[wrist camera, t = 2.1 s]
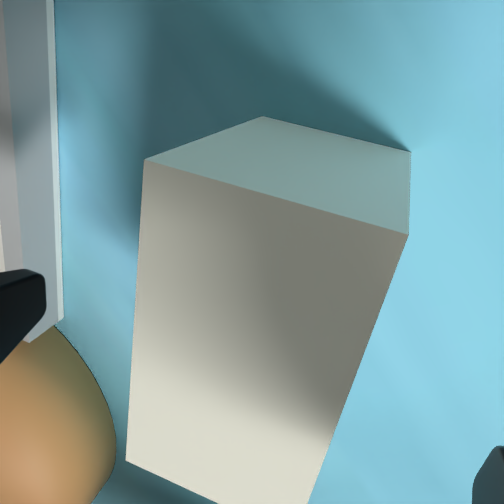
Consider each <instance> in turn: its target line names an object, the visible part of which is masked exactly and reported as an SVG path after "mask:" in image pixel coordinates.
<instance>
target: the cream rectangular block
mask: <svg viewBox="0 0 504 504" xmlns="http://www.w3.org/2000/svg"><path fill="white" fill-rule="evenodd" d="M410 173H411V152H408V151H404V150H400V149H396V148H392V147H387V146H383V145H379V144H375V143H371V142H367V141H363V140H359V139H355V138H350V137H346V136H342V135H338V134H334V133H330V132H326V131H322V130H318V129H313V128H309V127H305V126H301V125H297V124H293V123H289V122H285V121H281V120H276V119H272V118H268V117H264V116H261V117H258V118H256V119H253V120H250V121H247V122H245V123H242V124H239V125H236V126H234V127H231V128H228V129H225V130H223V131H220V132H217V133H215V134H212V135H209V136H206V137H204V138H201V139H198V140H195V141H193V142H190V143H187V144H185V145H182V146H179V147H176V148H174V149H171V150H168V151H165V152H163V153H160V154H157V155H154V156H152V157H149V158H146V159H144V167H143V183H142V199H141V216H140V232H139V249H138V265H137V282H136V298H135V315H134V331H133V348H132V364H131V381H130V397H129V414H128V430H127V446H126V461H128V462H130V463H132V464H134V465H136V466H139V467H141V468H143V469H145V470H147V471H149V472H151V473H154V474H156V475H158V476H160V477H162V478H164V479H167V480H169V481H171V482H173V483H175V484H177V485H180V486H182V487H184V488H186V489H188V490H190V491H193V492H195V493H197V494H199V495H201V496H203V497H206V498H208V499H210V500H212V501H214V502H216V503H218V504H307V503H308V500H309V498H310V495H311V492H312V490H313V487H314V484H315V482H316V479H317V476H318V474H319V471H320V468H321V466H322V463H323V461H324V458H325V455H326V453H327V450H328V447H329V445H330V442H331V439H332V437H333V434H334V431H335V429H336V426H337V423H338V421H339V418H340V415H341V413H342V410H343V407H344V405H345V402H346V400H347V397H348V394H349V392H350V389H351V386H352V384H353V381H354V378H355V376H356V373H357V370H358V368H359V365H360V362H361V360H362V357H363V354H364V352H365V349H366V346H367V344H368V341H369V339H370V336H371V333H372V331H373V328H374V325H375V323H376V320H377V317H378V315H379V312H380V309H381V307H382V304H383V301H384V299H385V296H386V293H387V291H388V288H389V285H390V283H391V280H392V278H393V275H394V272H395V270H396V267H397V264H398V262H399V259H400V256H401V254H402V251H403V248H404V246H405V243H406V240H407V238H408V235H409V207H410Z"/></svg>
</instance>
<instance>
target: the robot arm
mask: <svg viewBox="0 0 504 504" xmlns="http://www.w3.org/2000/svg"><path fill="white" fill-rule="evenodd" d="M46 308H47V299H46V281H45V278H44V276H43V275H42V274H40V273H37V272H35V271H32V270H29V269H17V270H11V271H5V272H0V364H1V363H2V362H3V361H4V360H5V359H6V358H7V356H8V355H9V354H10V353H11V352H12V351H13V350H14V349H15V348H16V346H17V345H18V344H19V343H20V342H21V341H22V340H23V339H24V338H25V337H26V335H27V334H28V333H29V332H30V331H31V330H32V329H33V328H34V327H35V325H36V324H37V323H38V322H39V321H40V320H41V319H42V317H43V316H44V314H45V312H46ZM472 504H504V446H496V447H495V448H494V449H493V450H492V451H491V453H490V454H489V456H488V457H487V459H486V460H485V462H484V464H483V465H482V467H481V468H480V470H479V472H478V473H477V475H476V477H475V479H474V483H473V488H472Z"/></svg>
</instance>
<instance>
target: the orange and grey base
mask: <svg viewBox="0 0 504 504" xmlns="http://www.w3.org/2000/svg"><path fill="white" fill-rule="evenodd" d="M17 269H29V270H32V271H35V272H37V273H40V274H42V275H43V276H44V278H45V281H46V299H47V308H46V312H45V314H44V316H43V317H42V319H41V320H40V321H39V322H38V323H37V324H36V325H35V327H34V328H33V329H32V330H31V331H30V332H29V333H28V334H27V335H26V337H25V338H24V339H23V340H22V341H21V342H20V343H19V344H18V345H17V346H16V348H15V349H14V350H13V351H12V352H11V353H10V354H9V355H8V356H7V358H6V359H5V360H4V361H3V362H2V363H1V364H0V504H91V503H92V501H93V500H94V498H95V497H96V496H97V494H98V493H99V492H100V490H101V489H102V487H103V486H104V485H105V483H106V482H107V480H108V479H109V477H110V475H111V473H112V470H113V467H114V464H115V458H116V435H115V430H114V425H113V420H112V417H111V414H110V411H109V408H108V405H107V403H106V400H105V398H104V396H103V394H102V392H101V389H100V387H99V386H98V384H97V382H96V380H95V379H94V377H93V375H92V373H91V372H90V370H89V368H88V367H87V366H86V364H85V363H84V361H83V360H82V358H81V357H80V356H79V354H78V353H77V352H76V350H75V349H74V348H73V347H72V346H71V344H70V343H69V342H68V341H67V340H66V338H65V337H64V336H63V335H62V334H61V333H60V332H59V331H58V330H57V329H56V328H55V327H54V326H53V325H54V324H56V323H57V322H59V321H60V320H61V319H63V318H64V312H63V280H62V248H61V216H60V184H59V152H58V120H57V88H56V56H55V24H54V0H0V272H5V271H11V270H17Z"/></svg>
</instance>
